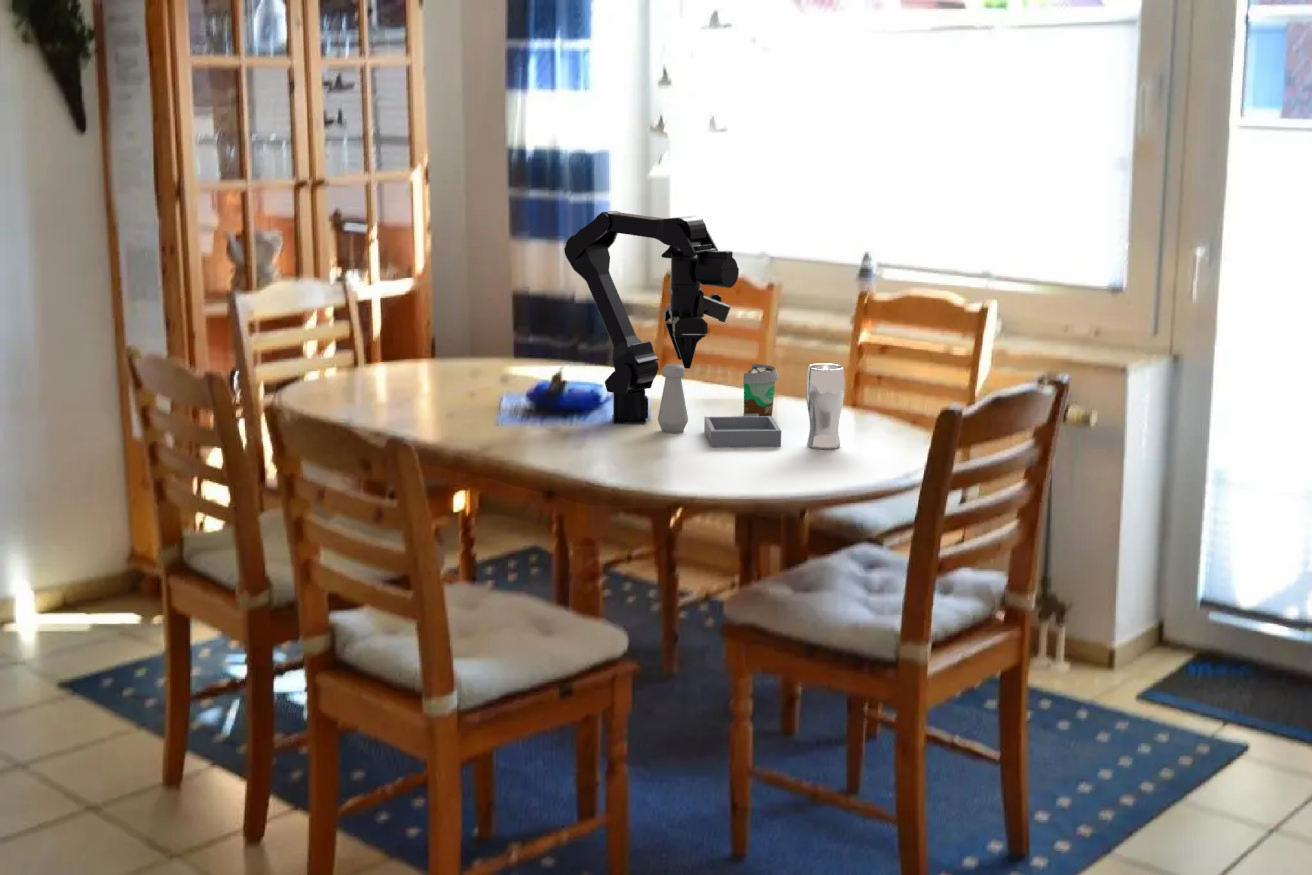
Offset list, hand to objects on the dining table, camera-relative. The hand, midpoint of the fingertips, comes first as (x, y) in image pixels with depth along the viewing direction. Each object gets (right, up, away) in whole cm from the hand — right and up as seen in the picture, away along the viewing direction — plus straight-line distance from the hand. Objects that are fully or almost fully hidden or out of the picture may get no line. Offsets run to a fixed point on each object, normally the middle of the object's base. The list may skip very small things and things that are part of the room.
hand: (684, 363), depth 301 cm
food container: (+16, -10, +15) cm, 24 cm away
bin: (+11, -14, -5) cm, 19 cm away
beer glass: (+26, -16, -10) cm, 32 cm away
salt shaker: (-2, -13, +2) cm, 13 cm away
